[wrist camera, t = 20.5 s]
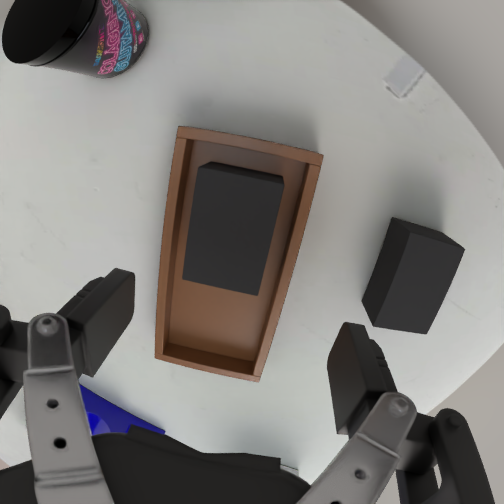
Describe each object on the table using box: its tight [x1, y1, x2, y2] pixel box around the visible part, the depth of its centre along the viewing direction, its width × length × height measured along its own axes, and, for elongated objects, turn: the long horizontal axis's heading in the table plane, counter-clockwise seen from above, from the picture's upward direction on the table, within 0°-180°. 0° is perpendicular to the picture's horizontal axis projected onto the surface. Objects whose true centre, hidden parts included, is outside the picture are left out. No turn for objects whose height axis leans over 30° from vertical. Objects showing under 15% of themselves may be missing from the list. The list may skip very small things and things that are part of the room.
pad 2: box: [362, 217, 465, 334], centre depth 23 cm, size 8×6×4 cm
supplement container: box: [2, 0, 149, 78], centre depth 15 cm, size 7×7×10 cm
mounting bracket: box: [79, 384, 165, 435], centre depth 33 cm, size 18×7×6 cm, turn 59°
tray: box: [155, 126, 323, 382], centre depth 25 cm, size 21×10×2 cm, turn 168°
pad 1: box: [182, 161, 285, 296], centre depth 22 cm, size 8×6×4 cm
